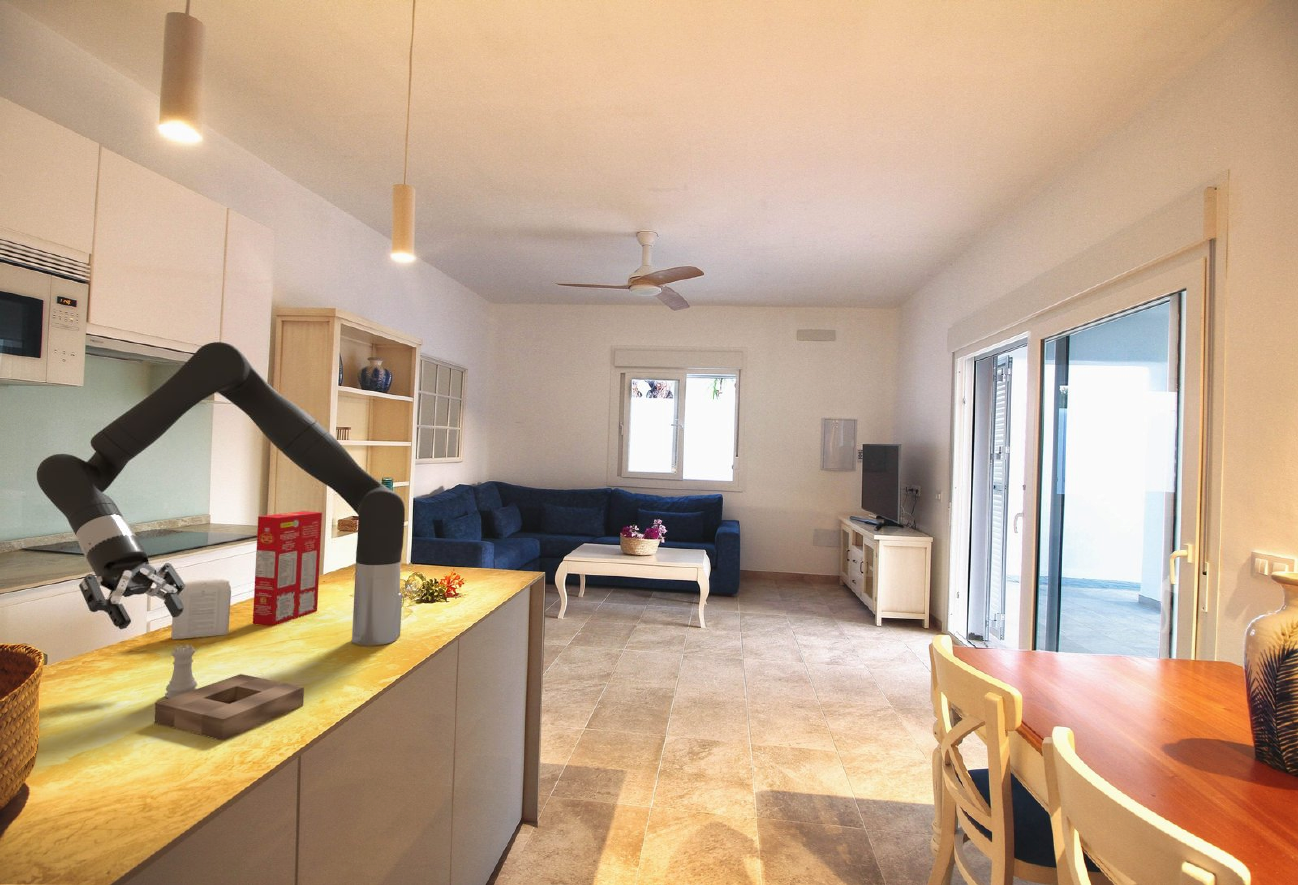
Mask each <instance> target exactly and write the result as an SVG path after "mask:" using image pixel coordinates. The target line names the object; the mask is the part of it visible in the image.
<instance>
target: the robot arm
mask: <svg viewBox="0 0 1298 885" xmlns="http://www.w3.org/2000/svg"><path fill="white" fill-rule="evenodd" d="M215 393H216V394H220V395H221V396H222V397H224V398H225V399H226V400H228V401H229V402H230V403H232V404H233V405H234V406H236V407H237V408H238V409H240V410H241V411H242V412H244V413H245V415H247V416H248V418H250V419H251V420H252V422H253V423H254V424H255V425H256V426H257V427H258V429H259V430H260V431H261V432H262V433H263V435H265V437H266V438H267V439H268V440H269V441H270V443H272V444H273V445H274V446H275V447H276V448H277V449H278V450H279V451H280V452H281V453H282V454H283V455H285V456H286V457H287V458H288V459H289V460H290V461H291V462H292V463H294V464H295V465H296V466H297V467H299V468H300V469H301V470H303V471H304V472H305V473H307V474H309V475H310V476H312V477H313V478H314V479H316V480H317V481H319V482H320V483H322V484H324V485H325V486H327V487H329V488H330V489H332V490H333V491H334V492H335V493H336V494H338V495H339V496H340V498H342V499H343V500H344V501H345V502H346V503H347V504H348V505H349V507H351V509H353V511H354V512H355V513H356V514H357V516H358V517H357V518H358V519H357V540H356V552H355V570H354V571H355V572H354V573H355V574H354V590H353V592H354V593H353V594H354V595H353V612H352V629H351V630H352V631H351V632H352V633H351V634H352V635H351V643H353V644H355V645H360V646H367V647H368V646H369V647H370V646H380V645H386V644H390V643H393V642H395V641H397V640H398V637H401V630H402V628H401V627H402V605H403V604H402V603H403V594H402V593H400V591H401V589H400V588H401V567H402V555H403V554H402V553H403V547H404V535H405V534H404V533H405V516H406V512H405V511H406V510H405V509H406V508H405V504H404V501H403V499H402V497H401V496H399V495H398V494H397V493H396V492H395V491H393V490H392V489H391V488H389V487H388V486H386V485H385V484H383V483H382V482H380V481H379V480H377V479H375V478H374V477H373V476H372V475H371V474H369V473H368V472H367V471H365V469H363V468H362V467H361V466H360V465H359V464H358V463H357V462H356V461H355V459H354V458H353V457H352V456H351V455H350V454H349V452H348V450H346V449H345V448H344V446H343V445H342V444H341V443H340V442H339V441H338V440H337V439H336V438H335V437H334V436H333V435H332V434H331V433H330V432H329V431H328V430H327V429H326V428H325V427H324V426H323V425H321V424H320V423H319V422H318V421H317V420H316V419H315V418H314V417H313V416H311V415H310V414H309V413H307V412H306V411H305V410H303V409H302V407H299V405H297V404H295V403H294V402H292V401H291V400H289V399H288V398H286V397H285V396H283V395H281V394H280V393H279V392H278V391H277V390H275V389H274V388H273V387H272V386H271V385H270V384H269V383H268V382H267V381H266V380H265V379H264V378H263V377H262V375H260V373H259V372H257V370H256V369H255V368H254V367H253V365H252V364H251V363H250V361H248V358H246V356H245V355H244V353H242V351H241V350H239V349H238V348H237V347H236V346H234V345H232V344H231V343H227V342H223V341H222V342H221V341H215V342H210V343H206V344H204V345H202V346H201V347H199V349H197V351H196V352H194V353H193V355H192V356H191V357H190V358H189V359H187V361H186V362H185V363H184V364H183V365H182V366H181V367H180V368H179V369H178V370H177V371H176V372H175V373H174V374H173V375H172V376H171V377H170V378H169V379H168V380H166V381H165V382H164V383H163V384H162V385H160V386H159V387H158V388H157V389H156V390H155V391H153V392H152V393H151V394H149V395H148V396H147V397H145V398H144V399H142V400H141V401H140V402H139V403H137V404H135V405H134V406H133V407H131V408H130V409H129V410H127V411H126V412H125V413H123V414H122V415H120V416H118V417H117V418H116V419H115V420H113V421H111V423H109V424H108V425H106V426H105V427H103V429H101V430H99V431H98V432H97V433H95V434H94V436H92V437H91V438H90V446H91V448H92V449H93V450H94V453H93V454H92V455H91V457H90V458H89V460H87V461H85V460H83V459H82V458H80V457H77V456H76V455H72V454H67V453H56V454H52V455H50V456H48V457H46V458H44V459H43V460H42V461H41V462H40V464H39V465H38V467H37V470H36V481H37V484H38V486H39V488H40V490H41V492H43V494H44V495H45V496H46V497H47V499H48V500H50V502H51V503H52V504H53V505H54V506H55V507H56V509H58V510H59V511H60V512H61V513H62V514H63V515H64V517H65V518H66V519H67V522H68V523H69V526H70V528H71V530H72V531H73V533H74V535H75V537H76V538H77V542H78V544H79V547H80V549H81V551H82V554H83V555H84V556H85V558H86V560H87V562H88V564H89V565H90V567H91V569H92V571H93V572H94V573H93V574H92V573H88V574H86V576H85V577H84V578H83V579H82V580H81V582H80V584H79V585H78V588H79V589H80V591H81V594H82V597H83V598H84V601H85V603H86V605H87V607H88V609H89V611H90V612H92V613H97V612H98V611H101V612H105V613H107V615H108V617H109V618H110V620H111V622H112V624H113V625H114V626H115V627H116V628H118V629H119V630H123V629H124V630H125V629H127V628H128V626H130V624H131V623H132V619H131V617H130V615H129V614H128V612H127V609H126V608H125V607H124V604H123V603H120V601H121V599H122V597H124V598H129V597H132V596H134V595H140V596H141V595H144V594H146V595H147V596H150V597H156V598H159V599H160V600H162V601H163V604H164V606H165V607H166V609H167V611H168V612H169V614H170V615H171V617H172V618H174V617H178V616H179V615H180V614H181V613H182V612H183V609H184V605H183V604H182V602H181V600H180V599H179V597H178V595H179V594H180V592H181V591H182V590H183V589H184V588H185V584H184V582H185V581H184V580H182V577H181V576H180V575H179V573H178V572H177V571H176V569H175V568H174V566H173V565H172V563H170V562H165V563H164V564H163V565H162V566H158V567H154V566H152V564H150V562H149V557H148V553H147V552H146V550H145V549H144V547H143V545H142V543H141V542H140V540H139V538H138V536H137V535H136V533H135V532H134V530H133V528H132V526H131V525H130V524H129V523H128V522H127V521H126V519H125V518H124V516H123V515H122V513H121V511H120V509H119V508H118V505H117V504H116V503H115V501H114V500H113V499H112V498H111V497H110V496H108V495H107V494H105V493H104V492H105V491H106V490H107V489H109V487H111V485H112V483H114V481H115V480H116V479H117V477H118V476H119V475H120V473H122V471H123V470H124V468H125V467H126V465H128V463H129V462H130V461H131V460H133V459H134V458H136V457H137V456H138V455H139V454H141V453H142V452H143V451H145V450H146V449H147V448H148V447H150V446H151V445H152V444H154V443H155V442H156V441H157V440H158V439H159V438H161V437H162V436H163V435H164V434H165V433H166V432H167V431H168V430H169V429H170V428H171V427H172V426H173V425H174V424H175V423H176V422H178V420H180V418H182V416H184V415H185V414H186V413H187V412H188V411H189V410H191V409H193V407H195V406H196V405H197V404H199V403H200V402H202V401H203V400H205V399H206V398H209V397H210V396H212V395H215ZM94 574H95V575H94ZM154 584H155V585H156V586H155V587H152V586H153V585H154ZM100 586H101V587H103V588H105V589H107V590H109V591H110V592H109V594H108V596H107V598H106V597H105V595H104V593H103V591H102V589H101V587H100Z"/></svg>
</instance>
